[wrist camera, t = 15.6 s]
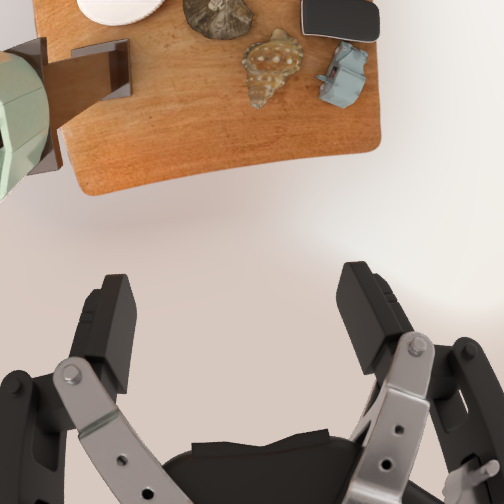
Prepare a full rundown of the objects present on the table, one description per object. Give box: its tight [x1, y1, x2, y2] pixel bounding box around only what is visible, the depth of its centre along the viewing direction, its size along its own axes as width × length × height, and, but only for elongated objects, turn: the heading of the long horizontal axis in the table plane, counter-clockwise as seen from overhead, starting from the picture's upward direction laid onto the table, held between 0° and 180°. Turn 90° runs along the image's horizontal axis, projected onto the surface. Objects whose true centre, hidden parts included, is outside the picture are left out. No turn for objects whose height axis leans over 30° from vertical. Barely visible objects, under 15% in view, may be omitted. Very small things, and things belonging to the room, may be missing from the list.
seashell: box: [242, 29, 303, 109], centre depth 39 cm, size 9×8×10 cm
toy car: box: [315, 41, 368, 108], centre depth 41 cm, size 6×10×5 cm, turn 162°
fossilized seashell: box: [183, 0, 254, 40], centre depth 34 cm, size 8×7×10 cm
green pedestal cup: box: [0, 37, 132, 203], centre depth 25 cm, size 11×11×34 cm
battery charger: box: [300, 0, 380, 43], centre depth 36 cm, size 7×4×11 cm
